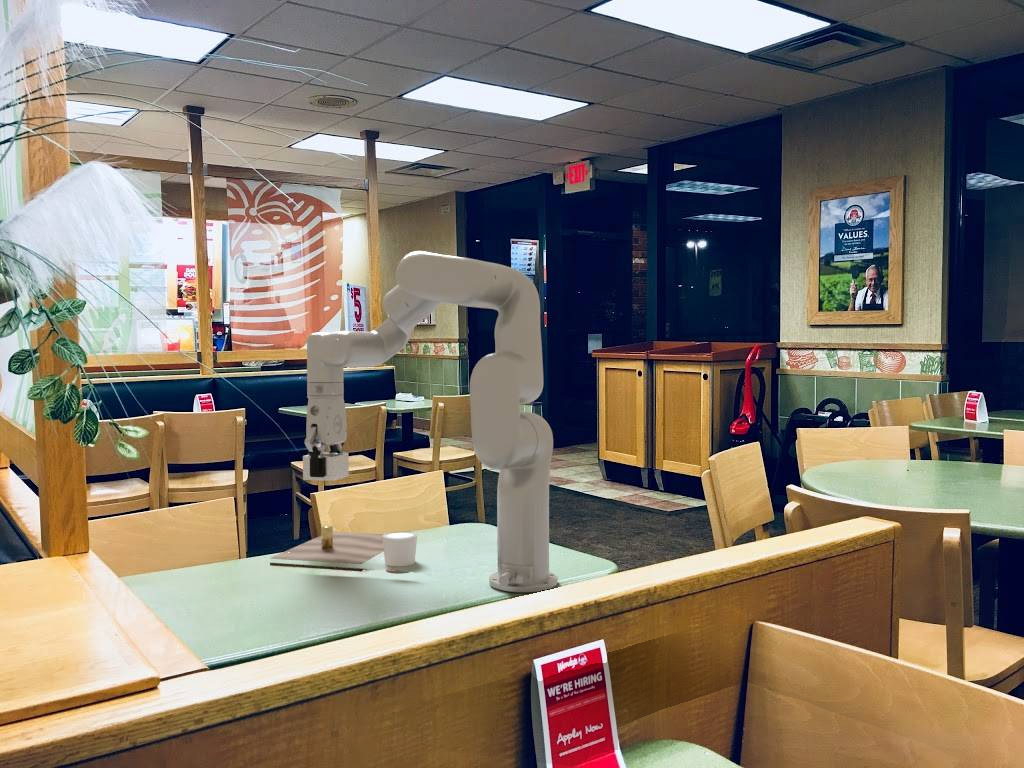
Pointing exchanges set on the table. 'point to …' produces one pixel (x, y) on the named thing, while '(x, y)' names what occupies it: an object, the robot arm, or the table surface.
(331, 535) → the post
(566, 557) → the table surface
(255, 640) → the table surface
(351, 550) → the brown flat slab
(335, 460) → the small white box
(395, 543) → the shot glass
